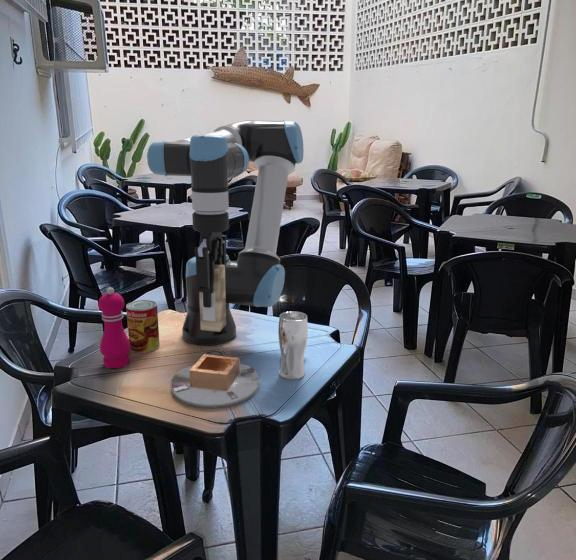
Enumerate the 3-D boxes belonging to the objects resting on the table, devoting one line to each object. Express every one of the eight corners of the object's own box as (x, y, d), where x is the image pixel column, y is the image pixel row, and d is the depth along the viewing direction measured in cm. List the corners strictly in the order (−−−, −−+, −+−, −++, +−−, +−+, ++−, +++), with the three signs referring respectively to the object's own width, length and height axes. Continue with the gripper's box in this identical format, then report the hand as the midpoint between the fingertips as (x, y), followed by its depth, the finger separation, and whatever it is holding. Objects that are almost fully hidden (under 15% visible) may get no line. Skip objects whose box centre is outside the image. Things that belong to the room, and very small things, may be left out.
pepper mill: (95, 366, 131) (87, 289, 125) (116, 355, 137) (109, 281, 131) (117, 372, 128) (110, 294, 122) (137, 360, 134) (132, 285, 128)
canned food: (123, 348, 141) (119, 306, 137) (144, 338, 147) (142, 298, 144) (144, 355, 137) (141, 312, 134) (165, 345, 144) (163, 303, 140)
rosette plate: (191, 362, 133) (190, 342, 132) (268, 371, 129) (268, 350, 128) (156, 401, 115) (154, 379, 113) (244, 413, 111) (244, 389, 109)
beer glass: (290, 365, 133) (291, 308, 128) (312, 373, 129) (314, 315, 124) (272, 374, 128) (272, 316, 123) (294, 383, 123) (295, 323, 119)
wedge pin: (207, 322, 120) (205, 263, 116) (226, 324, 119) (224, 264, 115) (200, 329, 116) (198, 268, 112) (219, 331, 115) (218, 270, 111)
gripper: (208, 204, 119) (211, 302, 126) (176, 217, 103) (181, 328, 109) (240, 206, 118) (241, 304, 124) (212, 219, 101) (215, 332, 108)
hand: (213, 315), depth 117 cm, fingers closed on wedge pin, 4 cm apart
